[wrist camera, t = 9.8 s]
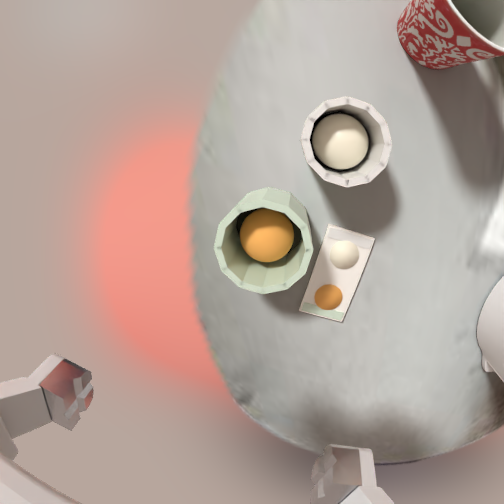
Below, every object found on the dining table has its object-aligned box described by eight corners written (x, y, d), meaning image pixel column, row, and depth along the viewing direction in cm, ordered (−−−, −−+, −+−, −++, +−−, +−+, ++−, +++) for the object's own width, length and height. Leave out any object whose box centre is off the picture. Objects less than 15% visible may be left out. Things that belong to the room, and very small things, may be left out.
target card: (374, 237, 31) (375, 239, 31) (341, 320, 35) (341, 322, 34) (328, 223, 32) (329, 224, 31) (299, 309, 35) (298, 311, 35)
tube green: (318, 200, 31) (324, 216, 25) (296, 272, 34) (295, 303, 27) (241, 179, 31) (226, 189, 25) (223, 251, 34) (207, 278, 28)
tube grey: (379, 119, 28) (400, 115, 21) (360, 185, 30) (376, 197, 24) (311, 97, 28) (315, 86, 21) (293, 164, 30) (292, 171, 24)
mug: (451, 95, 25) (530, 81, 13) (376, 49, 25) (423, -2, 12) (480, 12, 21) (545, -25, 8) (411, -32, 21) (455, -93, 8)
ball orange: (301, 211, 32) (299, 224, 27) (287, 257, 33) (283, 277, 29) (251, 197, 32) (242, 207, 27) (240, 244, 34) (229, 261, 29)
